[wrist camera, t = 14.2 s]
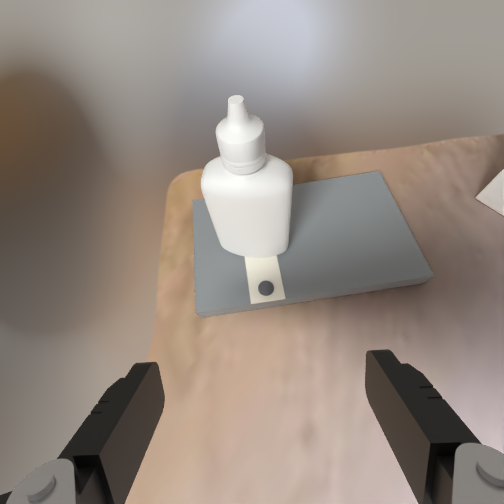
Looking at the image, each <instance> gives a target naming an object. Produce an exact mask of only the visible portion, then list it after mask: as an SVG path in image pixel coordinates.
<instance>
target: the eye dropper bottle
mask: <svg viewBox="0 0 504 504" xmlns="http://www.w3.org/2000/svg"><path fill="white" fill-rule="evenodd" d="M216 137H217V141H218V146H219V150H220V154H221V156H219V157H217V158H215V159H213V160H212V161H210V162H209V163H208V164H207V165H206V166H205V169H204V171H203V175H202V179H201V189H202V193H203V196H204V199H205V202H206V205H207V208H208V211H209V214H210V217H211V219H212V222H213V225H214V228H215V231H216V233H217V236H218V239H219V242H220V244H221V246H222V247H223V248H224V249H225V250H227V251H229V252H231V253H234V254H237V255H240V256H244V257H251V258H263V257H270V256H275V255H279V254H281V253H283V252H285V251H286V250H287V248H288V243H289V231H290V218H291V204H292V187H293V172H292V169H291V167H290V166H289V165H288V164H287V163H286V162H284V161H282V160H281V159H278V158H276V157H274V156H272V155H269V154H266V153H265V131H264V124H263V122H262V121H261V119H259V118H258V117H256V116H254V115H252V114H248V111H247V108H246V105H245V102H244V98H243V97H242V96H239V95H235V96H232V97H230V98H229V99H228V117H226V118H225V119H223V120H222V121H221V122H220V123H219V124H218V126H217V128H216Z"/></svg>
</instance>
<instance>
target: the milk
mask: <svg viewBox="0 0 504 504" xmlns="http://www.w3.org/2000/svg"><path fill="white" fill-rule="evenodd" d="M475 198H476V199H477V200H479V201H480V202H482V203H483V204H485V205H487V206H488V207H490V208H491V209H493V210H495V211H496V212H498V213H499V214H501V215H503V216H504V169H503V170H502V171H501V172H500V173H499V174H498V175H497V176H496V177H495V178H494V179H493V180H492V181H491V182H490V183H489V184H488V185H487V186H486V187H485V188H484V189H483V190H482V191H481V192H480V193H479V194H478V195H477V196H476V197H475Z"/></svg>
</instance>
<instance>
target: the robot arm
mask: <svg viewBox="0 0 504 504" xmlns="http://www.w3.org/2000/svg"><path fill="white" fill-rule="evenodd" d="M365 389H366V394H367V398H368V401H369V404H370V406H371V408H372V410H373V412H374V414H375V416H376V418H377V420H378V422H379V424H380V426H381V428H382V430H383V432H384V434H385V436H386V438H387V440H388V442H389V444H390V446H391V448H392V450H393V453H394V455H395V457H396V459H397V461H398V463H399V465H400V467H401V469H402V471H403V473H404V475H405V477H406V479H407V481H408V483H409V485H410V487H411V489H412V491H413V493H414V495H415V497H416V499H417V501H418V503H419V504H504V454H503V453H501V452H499V451H498V450H495V449H493V448H491V447H488V446H486V445H482V444H481V442H480V441H479V440H478V439H477V438H476V437H475V435H474V434H473V433H472V432H471V431H470V429H469V428H468V427H467V426H466V425H465V423H464V422H463V421H462V420H461V419H460V418H459V416H458V415H457V414H456V413H455V412H454V410H453V409H452V408H451V407H450V406H449V404H448V403H447V402H446V401H445V400H444V399H442V396H441V395H440V394H439V393H438V391H437V390H436V389H435V388H433V385H432V384H431V383H430V382H429V381H428V379H427V378H426V377H425V376H424V375H423V373H421V372H420V371H418V370H417V369H415V368H414V367H412V366H411V365H409V364H408V363H407V364H401V363H400V362H399V361H398V359H397V358H396V357H395V355H394V354H393V353H392V352H391V351H390V350H370V351H367V353H366V373H365ZM164 401H165V396H164V390H163V385H162V380H161V376H160V371H159V367H158V364H157V363H156V362H145V363H136V364H134V365H133V367H132V368H131V370H130V371H129V373H128V374H127V376H126V377H125V378H120V379H119V380H118V381H116V382H115V383H114V384H113V385H112V386H110V387H109V388H108V389H107V390H106V392H105V393H104V394H103V396H102V397H101V399H100V400H99V401H98V404H96V405H95V407H94V408H93V410H92V411H91V414H90V415H88V417H87V418H86V419H85V421H84V422H83V423H82V425H81V426H80V428H79V429H78V430H77V432H76V433H75V435H74V436H73V437H72V439H71V440H70V441H69V443H68V444H67V446H66V447H65V449H64V450H63V451H62V453H61V454H60V455H59V457H58V458H57V459H56V460H52V461H49V462H47V463H45V464H43V465H41V466H39V467H38V468H36V469H35V470H33V471H32V472H31V473H29V474H28V475H27V476H26V477H25V478H24V479H23V480H22V481H21V482H20V483H19V484H18V485H17V486H16V488H15V489H14V490H13V491H11V492H8V493H6V494H3V495H0V504H125V501H126V499H127V496H128V494H129V491H130V489H131V487H132V484H133V482H134V479H135V477H136V475H137V472H138V470H139V467H140V465H141V463H142V460H143V458H144V455H145V453H146V451H147V448H148V446H149V443H150V441H151V438H152V436H153V434H154V431H155V429H156V426H157V424H158V422H159V419H160V417H161V414H162V412H163V408H164Z"/></svg>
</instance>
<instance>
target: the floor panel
mask: <svg viewBox="0 0 504 504" xmlns="http://www.w3.org/2000/svg"><path fill="white" fill-rule="evenodd" d="M193 237H194V275H195V313H196V314H197V315H198V316H199V317H200V318H204V317H210V316H217V315H223V314H230V313H236V312H243V311H249V310H255V309H262V308H268V307H275V306H281V305H287V304H294V303H300V302H307V301H313V300H320V299H326V298H332V297H339V296H345V295H352V294H358V293H365V292H371V291H377V290H384V289H390V288H397V287H403V286H409V285H416V284H422V283H425V282H427V281H428V280H429V279H430V278H432V277H433V276H434V274H433V272H432V270H431V268H430V266H429V264H428V262H427V260H426V259H425V257H424V255H423V253H422V251H421V249H420V247H419V245H418V243H417V242H416V240H415V238H414V236H413V234H412V232H411V230H410V228H409V226H408V224H407V223H406V221H405V219H404V217H403V215H402V213H401V211H400V209H399V207H398V206H397V204H396V202H395V200H394V198H393V196H392V194H391V192H390V190H389V188H388V187H387V185H386V183H385V181H384V179H383V177H382V175H381V173H380V171H376V172H370V173H363V174H357V175H351V176H344V177H338V178H332V179H325V180H319V181H313V182H306V183H300V184H294V185H293V187H292V204H291V218H290V231H289V243H288V248H287V250H286V251H285V252H283V253H281V254H279V255H275V256H270V257H263V258H251V257H244V256H240V255H237V254H234V253H231V252H229V251H227V250H225V249H224V248H223V247H222V246H221V244H220V242H219V239H218V236H217V233H216V231H215V228H214V225H213V222H212V219H211V217H210V214H209V211H208V208H207V205H206V202H205V199H199V200H193Z"/></svg>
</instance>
